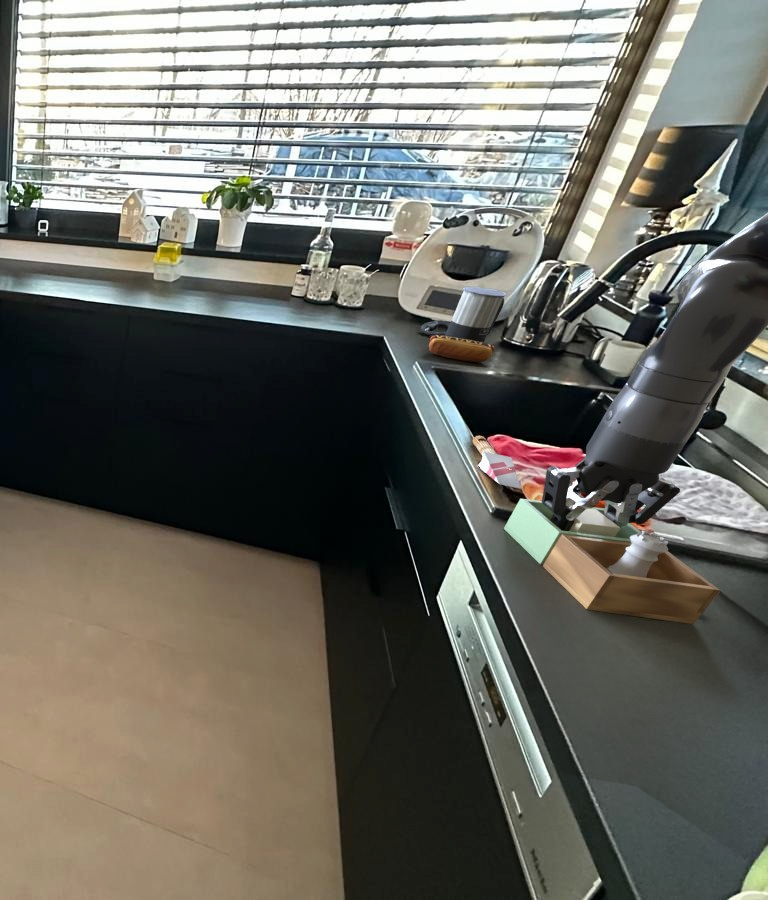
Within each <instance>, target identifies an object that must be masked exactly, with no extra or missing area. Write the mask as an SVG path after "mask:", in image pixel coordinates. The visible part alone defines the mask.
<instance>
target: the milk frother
mask: <svg viewBox="0 0 768 900" xmlns="http://www.w3.org/2000/svg"><path fill="white" fill-rule="evenodd" d="M462 289H463V292H462V294H461V297H460V298H459V301H458V303H457V306H456V309H455V311H454V313H453V315H452V318H451V321H450V322H449V321H445V320H434V321H429V322H425V323H424V324H422V325H421V327H420V331H421V333H423V334H425V335H428V336H431V337H432V336H434V335H439V336H449V337H456V338H461V339H467V340H473V341H478V342H483V343H485V341H486V339H487V337H488V335H489V334H490V333H491V331H492V330H493V327H494V326H495V324H496V321H497V320H498V317H499V315H500V313H501V312H502V309H503V308H504V306H505V297H506V296H507V293H505V292H504V291H502V290H496V289H492V288H486V287H478V286H465V287H463V288H462ZM438 327H445V328H447V330H446V331H442V332H439V331H438V332H436V331H435V330H436V329H437V328H438Z"/></svg>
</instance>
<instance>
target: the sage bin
mask: <svg viewBox="0 0 768 900" xmlns="http://www.w3.org/2000/svg"><path fill="white" fill-rule="evenodd" d="M573 505H574V504H572V505H571V507H572V506H573ZM604 508H605V507H604ZM604 508H602V507H596V506H594V507H593V508H591V509H596V510H597V511H599V512H600V513H601V514H603V513H604ZM553 514H554V513H553V512H552V511H551V510H550V509H548V508H547V507H546V506H545V505H544V504H542V500H536V499H528V498H519V500H518V502H517V503H516V506H515V507H514V509H513V511H512V513H511V515H510V516H509V518H508V520H507V522H506V524H505V525H504V527H503V529H504V530H505V532H506V533H508V535H510V536H511V538H513V540H515V541H516V543H518V544H519V545H520V546H521V547H522V548H523V549H524V550H525V551H526V552H527V554H529V555H530V556H531V557H532V558H533V559H534V560H535V561H536V562H537V563H538V564H539V565H542V566H543V565H544V563H545V561H546V560H547V558H548V556H549V555H550V553H551V551H552V550H553V548H554V547H555V545H556V543H557V542H558V540H559V538H560V537H561V535H570V536H578V537H586V538H594V539H602V540H609V541H617V542H625V543H631V540H630V536H633V535H636V534H638V532H639V531H640V529H638V528H637V527H635V526H634V525H633V524H632V523H628V524H627V525H626V526H623V527H620V530H619V531H618V533H617V534H616V536H615V537H609V536H601V535H593V534H585V533H577V532H569V531H561V530H560V529H559V528H558V527H557V526H556V525H554V524H553V523H552V522H551V521H550V519H551V518H552V516H553ZM603 515H604V514H603Z"/></svg>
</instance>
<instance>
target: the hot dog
mask: <svg viewBox="0 0 768 900" xmlns="http://www.w3.org/2000/svg"><path fill="white" fill-rule="evenodd" d="M428 349H429V352H430V353H432V354H434V355H435V356H440V357H444V358H447V359H453V360H458V361H463V362H464V361H465V362H470V363H471V362H472V363H473V362H474V363H484V362H486V361H487V360H489V359H490V358H491V357H492V356H493V352H494V351H495V346H494V345H493V344H490V343H485V342H484V343H483V342H478V341H473V340H467V339H461V338H456V337H449V336H439V335H434V336H431V337H430V338H429V342H428Z"/></svg>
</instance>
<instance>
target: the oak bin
mask: <svg viewBox="0 0 768 900" xmlns="http://www.w3.org/2000/svg"><path fill="white" fill-rule="evenodd" d="M631 545H632V543H625V542H617V541H609V540H602V539H594V538H586V537H578V536H570V535H561V537H560V538H559V540H558V542H557V543H556V545H555V547H554V548H553V550H552V551H551V553H550V555H549V556H548V558H547V560H546V561H545V563H544V565H542V568H544V570H545V571H546V572H548V573H549V575H550V576H552V577H553V578H554V580H555V581H557V582H558V584H560V585H561V586H562V587H563V588H564V589H565V590H566V591H567V592H568V593H569V594H570V595H571V596H572V597H573V598H574V599H575V600H576V601H577V602H578V603H579V604H581V606H582V607H584V609H585V610H587V611H595V612H596V611H597V612H602V613H609V614H610V613H611V614H619V615H625V616H626V615H627V616H631V617H632V616H633V617H640V618H647V619H653V620H654V619H655V620H662V621H668V622H675V623H682V624H690V625H694V624H695V623H696V621H698V620H699V618H700V617H701V616H702V614H703V613H704V612H705V611H706V610H707V608H708V607H709V606H710V604H711V603H712V602H713V601H714V600H715V598H716V597H717V596H718V594H719V593H720V592H721V589H719V588H718V587H717V586H715V585H714V584H713V583H711V582H710V581H709V580H707V579H706V578H704V577H703V576H702V575H700V574H699V573H698V572H696V570H694V569H692V568H691V567H690V566H688V565H687V564H686V563H684V562H683V561H681V560H680V559H679V558H677V557H676V556H675V555H674V554H672V553H671V552H669V551H668V552H664V553H661V554H659V555H658V556H657V558H658V561H655V562H653V563H652V565H651V566H650V568H649V570H648V573H647V575H646V578H643V577H635V576H628V575H620V574H613V573H610V572H609V571H608V570H607V569H606V568H609V566H611V565H614V564H615V563H616V562H617V561H618V560H619V559H620V558H621V557H622V556H623V555H624V554H625V553H626V547H629V546H631Z"/></svg>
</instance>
